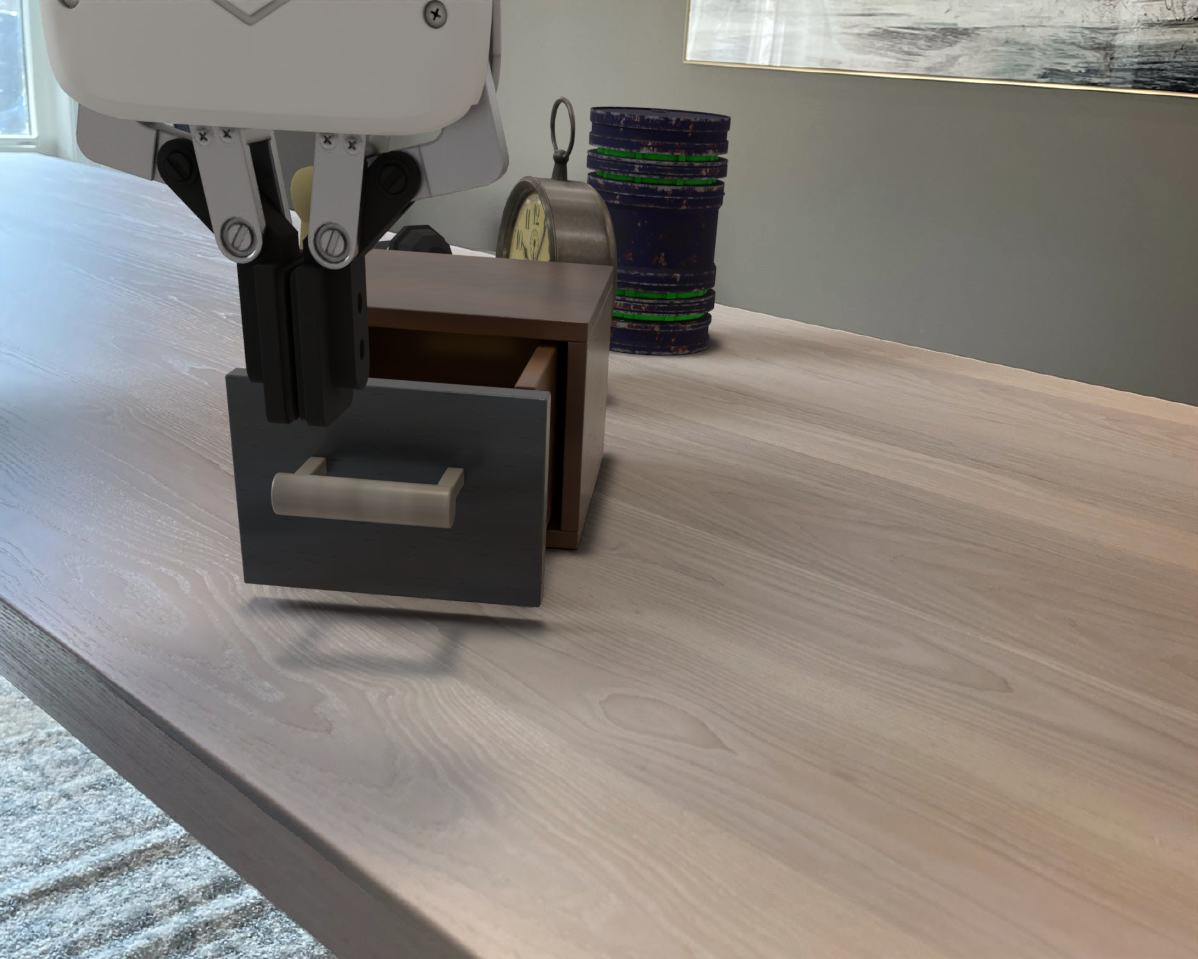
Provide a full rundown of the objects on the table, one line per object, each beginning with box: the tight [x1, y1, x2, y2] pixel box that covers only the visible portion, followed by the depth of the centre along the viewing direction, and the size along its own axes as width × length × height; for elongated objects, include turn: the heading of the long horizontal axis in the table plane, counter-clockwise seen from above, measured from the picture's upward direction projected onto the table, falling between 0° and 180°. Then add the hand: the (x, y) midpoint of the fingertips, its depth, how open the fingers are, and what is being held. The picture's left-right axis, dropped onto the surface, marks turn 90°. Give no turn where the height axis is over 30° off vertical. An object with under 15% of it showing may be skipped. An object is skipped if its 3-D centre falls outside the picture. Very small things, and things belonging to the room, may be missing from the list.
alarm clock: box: [495, 95, 617, 320], centre depth 78 cm, size 11×5×16 cm, turn 21°
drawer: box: [224, 327, 566, 609], centre depth 51 cm, size 18×11×8 cm, turn 175°
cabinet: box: [365, 249, 614, 550], centre depth 61 cm, size 15×13×10 cm
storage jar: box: [586, 105, 732, 356], centre depth 92 cm, size 10×10×15 cm
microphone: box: [374, 224, 454, 255], centre depth 108 cm, size 6×6×20 cm
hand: (312, 412), depth 36 cm, fingers closed
